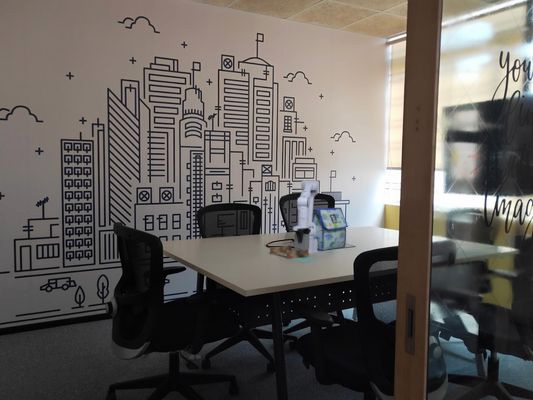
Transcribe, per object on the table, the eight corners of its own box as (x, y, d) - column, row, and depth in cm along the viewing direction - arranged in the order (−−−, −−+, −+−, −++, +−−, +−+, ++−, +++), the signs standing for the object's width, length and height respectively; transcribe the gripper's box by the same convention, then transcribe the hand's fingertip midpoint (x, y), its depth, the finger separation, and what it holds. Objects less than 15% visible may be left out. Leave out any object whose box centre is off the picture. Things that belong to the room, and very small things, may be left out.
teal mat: (307, 257, 255) (307, 256, 255) (318, 260, 248) (318, 259, 248) (291, 260, 247) (291, 259, 247) (302, 263, 240) (302, 262, 240)
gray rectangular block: (298, 246, 253) (298, 232, 252) (309, 248, 247) (309, 234, 247) (294, 247, 250) (294, 233, 250) (305, 249, 245) (305, 235, 244)
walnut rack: (290, 251, 271) (290, 245, 270) (308, 256, 258) (308, 249, 258) (270, 254, 261) (270, 247, 260) (288, 259, 248) (288, 252, 248)
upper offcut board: (291, 252, 267) (291, 250, 267) (302, 255, 259) (302, 253, 259) (286, 252, 265) (286, 251, 265) (297, 255, 257) (297, 253, 257)
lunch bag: (325, 252, 272) (326, 210, 270) (306, 247, 285) (307, 207, 283) (348, 248, 286) (350, 208, 284) (329, 244, 299) (330, 206, 297)
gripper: (305, 216, 255) (304, 239, 256) (289, 218, 245) (288, 242, 246) (315, 217, 250) (314, 241, 251) (299, 219, 240) (298, 244, 241)
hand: (302, 242), depth 248 cm, fingers closed on gray rectangular block, 3 cm apart
